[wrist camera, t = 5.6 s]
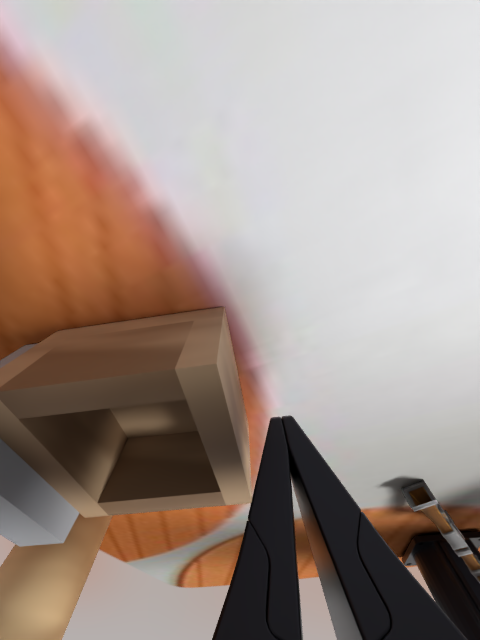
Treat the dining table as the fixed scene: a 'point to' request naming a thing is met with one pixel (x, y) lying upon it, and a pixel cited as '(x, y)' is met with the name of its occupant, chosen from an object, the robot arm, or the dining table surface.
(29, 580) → the dowel
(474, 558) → the brown and silver rod
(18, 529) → the wall
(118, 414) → the socket block
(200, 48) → the dining table surface
